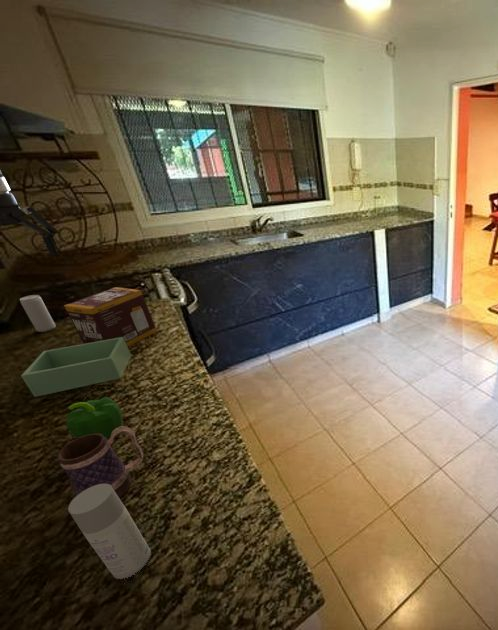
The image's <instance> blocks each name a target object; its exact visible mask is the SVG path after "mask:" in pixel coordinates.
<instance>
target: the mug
mask: <svg viewBox="0 0 498 630" xmlns="http://www.w3.org/2000/svg"><path fill="white" fill-rule="evenodd" d="M120 435H126V436H128V437H130V440H131V443H132V445H133V447H134V449H135V452H136V454H137V458H136V459H135V460H133V461H131V462H130V463H128V464H126V465H125V463H124V462H122V461H121V460H120V458H119V457H118V455H117V453H116V452H115V450H114V449H113V447H112V444H114V443H115V440H116V438H117V437H118V436H120ZM136 436H137V435H136V434H135V430H133V429H131V428H130V427H128V426H127V425H123V426H120V427H118V428H116V429H115V430H114V431H113V432H112V433H111V438H110V439H109V440H107V439H106V438H105V437H104V436H103V435H102V434H89V435H85V436H82V437H79V438H75V439H72V440H71V441H70V442H68V443H67V444H65V445H64V446H63V447H62V448H61V449H60V451H58V453H57V459H58V462H59V464H60V466H61V468H62V469H63V470H64V472H65V473H66V475H67V477H68V479H69V481H70V482H71V484H72V486H73V491H74V492H75V495H76V496H77V495H79V494H80V493H81V492H83V491H84V490H86V489H88V488H90V487H92V486H95V485H98V484H109V485H111V487H112V488H113V490H114V491H115V493H116V494H117V496H118V497H119V499H120V498H122V497H123V496H124V495H125V494H126V493H127V492H128V490H129V489H130V488H131V486H132V485H133V484H132V483H133V477H132V476H131V474H129V471H131V470H133V469H134V468H136V467H137V466H138V465H140V464H141V463H142V462H143V459H144V452H143V450H142V448H141V446H140V443H139V442H138V440H137V437H136Z"/></svg>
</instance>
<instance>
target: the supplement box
mask: <svg viewBox="0 0 498 630" xmlns="http://www.w3.org/2000/svg"><path fill="white" fill-rule="evenodd" d="M63 307H64V309H65V311H66V313H67V315H68V317H69V318H70V320H71V323H72V325H73V326H74V328H75V330H76V332H77V334H78V336H79V338H80V340H81V342H82V344H86V343H91V342H97V341H102V340H108V339H113V338H119V337H123V338H124V340H125V342H126V345H127V347H128V348H129V347H131V346H132V345H134V344H136V343H138V342H140V341H142V340H144V339H146V338H147V337H149V336H152V335H154V334H155V333H158V332H157V331H158V330H157V328H156V325H155V322H154V320H153V318H152V315H151V312H150V310H149V307H148V304H147V302H146V299H145V297H144V295H143V292H142V290H141V289H134V288H127V287H117V286H116V287H111V288H109V289H107V290H104V291H100V292H98V293H96V294H92V295H90V296H87V297H84V298H82V299H79V300H75V301H72V302H70V303H67V304H64V305H63Z"/></svg>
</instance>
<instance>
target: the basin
mask: <svg viewBox="0 0 498 630" xmlns="http://www.w3.org/2000/svg"><path fill="white" fill-rule="evenodd" d="M131 358H132V354H131V352H130V349H129V346H128V347H127V345H126V342H125V340H124V338H123V337H119V338H113V339H108V340H102V341H97V342H91V343H86V344H83V343H81V344H75V345H69V346H64V347H59V348H51V349H49V350H48V349H47V350H43V351H42V352H41V353H40V354H39V355H38V356H37V357H36V359H35V360H34V361H33V362H31V364H30V365H29V366H28V368H27V369H25V371H23V373H22V374H21V378H22V380H23V381H24V383H25V384H26V386H27V387H28V389H29V391H30V392H31V394H32V395H33V397H34V398H37V397H41V396H45V395H50V394H54V393H60V392H64V391H68V390H72V389H78V388H83V387H86V386H92V385H95V384H96V385H97V384H100V383H101V384H102V383H104V382H105V383H106V382H109V381H114V380H115V381H116V380H119V379H122V377H123V375H124V372H125V370H126V368H127V366H128V364H129V363H130V362H129V361H130V359H131Z"/></svg>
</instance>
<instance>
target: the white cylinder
mask: <svg viewBox="0 0 498 630" xmlns="http://www.w3.org/2000/svg"><path fill="white" fill-rule="evenodd" d="M19 302H20V304H21V306H22V308H23V309H24V311H25V313H26V315H27V317H28V319H29V320H30V322H31V324H32V325H33V327H34V329H35V331H36V332H39V333H45V332H49V331H52V330H54V329H56V326H57V325H56V323H55V322H54V321H55V320H54V319H53V318H52V316H51V314H50V312H49V310H48V308H47V306H46V305H45V303H44V301H43V299H42V297H41V296H40V294H31V295H26V296H23V297H20V298H19Z"/></svg>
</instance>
